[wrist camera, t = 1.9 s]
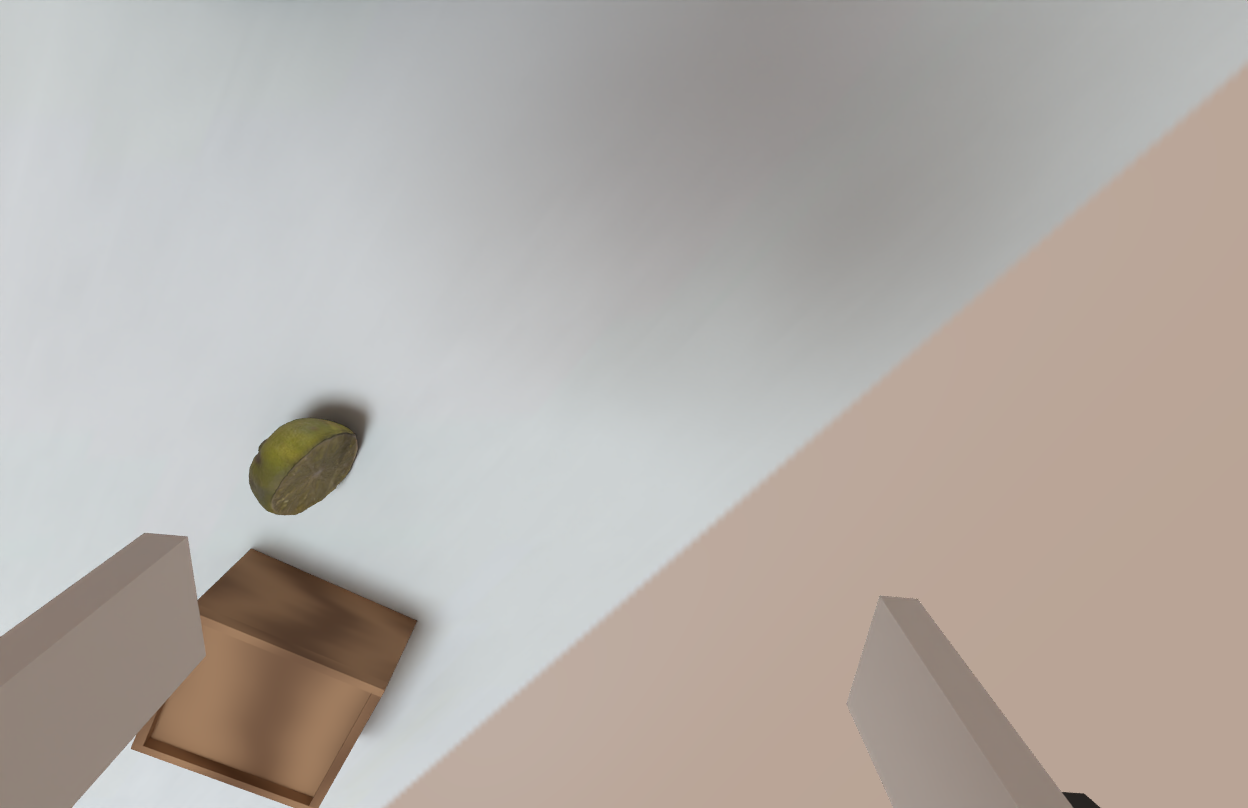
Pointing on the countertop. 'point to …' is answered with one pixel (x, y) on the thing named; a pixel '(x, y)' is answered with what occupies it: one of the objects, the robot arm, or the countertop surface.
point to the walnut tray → (278, 682)
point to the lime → (301, 464)
